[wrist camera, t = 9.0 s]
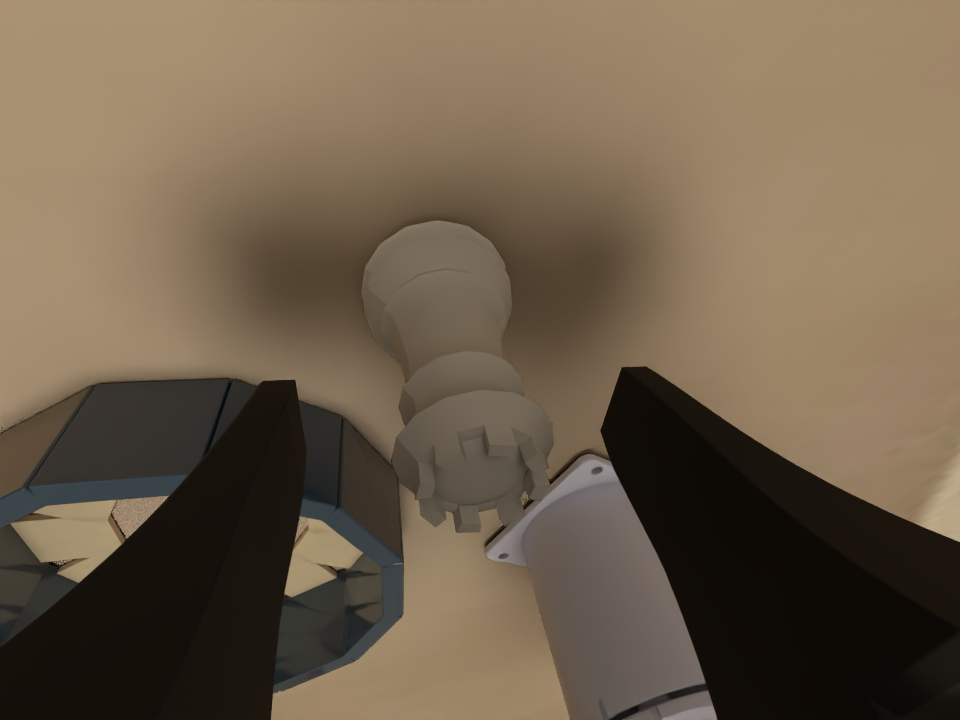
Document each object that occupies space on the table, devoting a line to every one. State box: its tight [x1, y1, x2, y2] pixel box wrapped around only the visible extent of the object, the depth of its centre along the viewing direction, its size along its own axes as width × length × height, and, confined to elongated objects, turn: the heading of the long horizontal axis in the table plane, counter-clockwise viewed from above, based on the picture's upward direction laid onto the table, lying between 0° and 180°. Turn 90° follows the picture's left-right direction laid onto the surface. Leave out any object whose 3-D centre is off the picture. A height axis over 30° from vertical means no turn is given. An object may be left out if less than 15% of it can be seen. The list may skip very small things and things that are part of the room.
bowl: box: [0, 379, 404, 693], centre depth 18 cm, size 15×15×4 cm
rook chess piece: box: [361, 220, 554, 533], centre depth 12 cm, size 4×4×8 cm
